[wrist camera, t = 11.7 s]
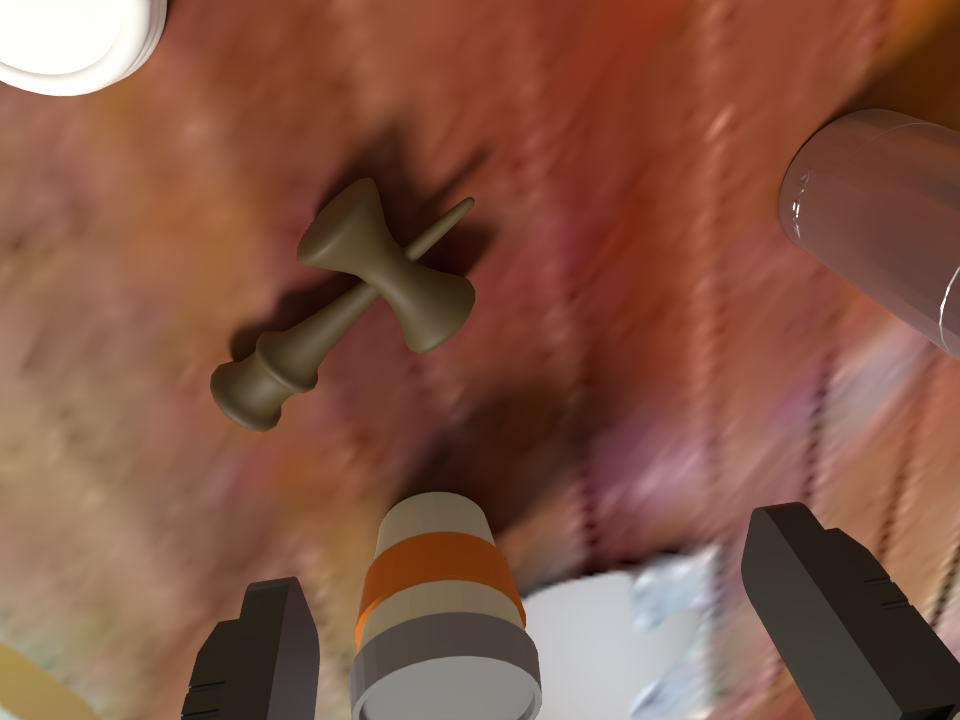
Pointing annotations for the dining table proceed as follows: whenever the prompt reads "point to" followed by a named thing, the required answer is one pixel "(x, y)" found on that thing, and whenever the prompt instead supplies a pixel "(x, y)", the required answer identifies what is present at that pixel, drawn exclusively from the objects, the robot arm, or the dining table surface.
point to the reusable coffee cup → (441, 621)
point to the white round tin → (76, 42)
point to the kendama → (348, 304)
